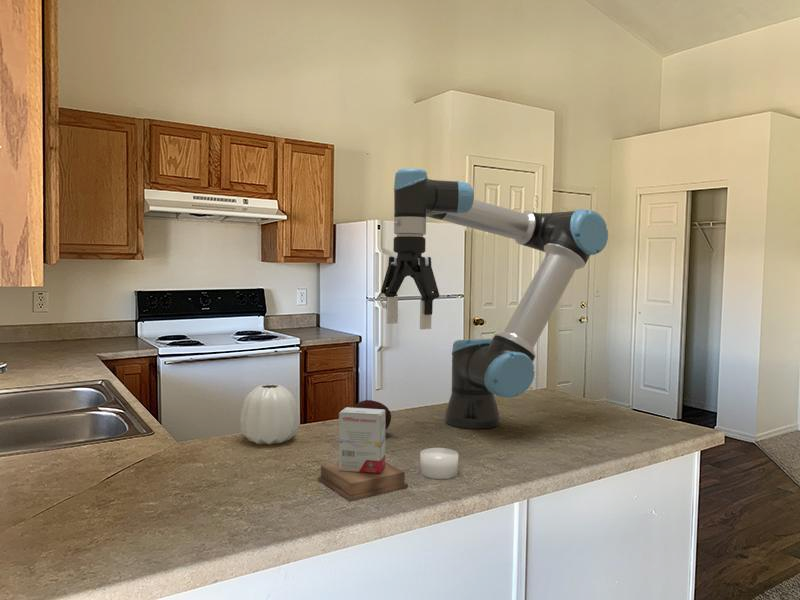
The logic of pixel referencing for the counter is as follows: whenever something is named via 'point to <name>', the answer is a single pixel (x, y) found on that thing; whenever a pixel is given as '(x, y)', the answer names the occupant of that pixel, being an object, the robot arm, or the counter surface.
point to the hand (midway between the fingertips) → (408, 326)
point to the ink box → (362, 440)
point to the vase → (269, 415)
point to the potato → (375, 405)
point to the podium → (361, 481)
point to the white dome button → (439, 463)
